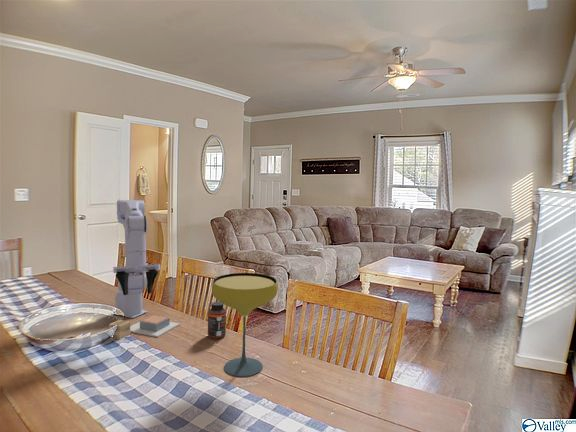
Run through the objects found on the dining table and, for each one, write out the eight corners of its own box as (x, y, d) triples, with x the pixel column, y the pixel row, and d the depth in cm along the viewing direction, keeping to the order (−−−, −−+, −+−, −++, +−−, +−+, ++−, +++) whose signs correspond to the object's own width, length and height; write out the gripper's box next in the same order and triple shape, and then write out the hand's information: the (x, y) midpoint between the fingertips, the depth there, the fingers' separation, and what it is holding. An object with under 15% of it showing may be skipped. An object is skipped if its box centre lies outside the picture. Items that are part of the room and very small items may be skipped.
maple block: (109, 337, 125) (109, 324, 125) (119, 332, 129) (119, 319, 129) (120, 339, 124) (119, 326, 123) (130, 334, 128) (130, 321, 127)
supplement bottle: (223, 339, 126) (224, 306, 125) (205, 339, 126) (206, 305, 125) (227, 332, 132) (227, 300, 131) (210, 332, 132) (210, 300, 131)
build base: (124, 330, 131) (123, 321, 131) (148, 319, 142) (147, 310, 142) (157, 337, 126) (157, 327, 126) (179, 324, 137) (179, 316, 137)
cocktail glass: (284, 359, 113) (287, 276, 111) (259, 390, 96) (261, 293, 94) (230, 348, 119) (231, 270, 117) (197, 375, 102) (198, 284, 100)
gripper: (109, 253, 121) (109, 296, 120) (155, 250, 122) (156, 293, 120) (118, 253, 128) (118, 294, 127) (161, 250, 129) (163, 291, 127)
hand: (137, 294), depth 124 cm, fingers open, 7 cm apart
